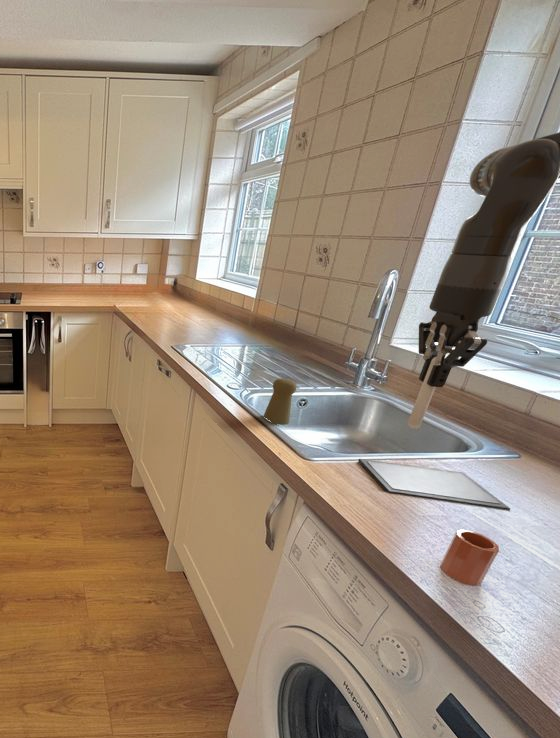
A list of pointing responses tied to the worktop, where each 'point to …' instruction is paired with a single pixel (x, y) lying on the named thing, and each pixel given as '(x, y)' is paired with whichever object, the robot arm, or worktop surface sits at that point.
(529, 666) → the worktop surface
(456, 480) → the tablet
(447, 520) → the worktop surface
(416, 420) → the beige wooden rod
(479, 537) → the pen cup
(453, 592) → the worktop surface
